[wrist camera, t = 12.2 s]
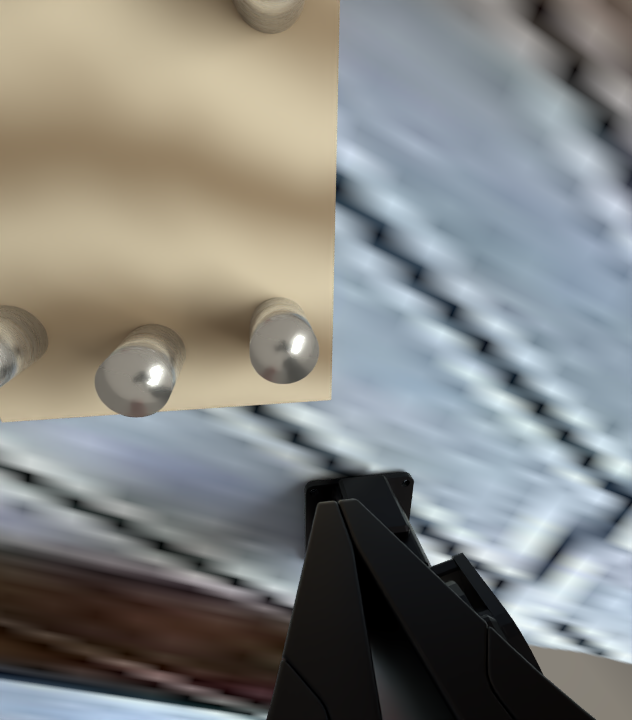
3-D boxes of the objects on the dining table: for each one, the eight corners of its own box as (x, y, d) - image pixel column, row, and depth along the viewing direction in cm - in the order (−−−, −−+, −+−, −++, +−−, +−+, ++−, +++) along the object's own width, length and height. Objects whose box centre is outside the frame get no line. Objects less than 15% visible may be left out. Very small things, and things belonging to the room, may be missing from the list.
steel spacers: (307, 370, 19) (318, 404, 16) (-5, 387, 17) (-66, 431, 14) (305, -103, 13) (323, -208, 9) (-190, -161, 11) (-381, -319, 7)
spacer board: (326, 389, 21) (330, 399, 20) (16, 409, 18) (1, 422, 17) (335, -142, 13) (343, -174, 12) (-183, -210, 11) (-231, -257, 10)
